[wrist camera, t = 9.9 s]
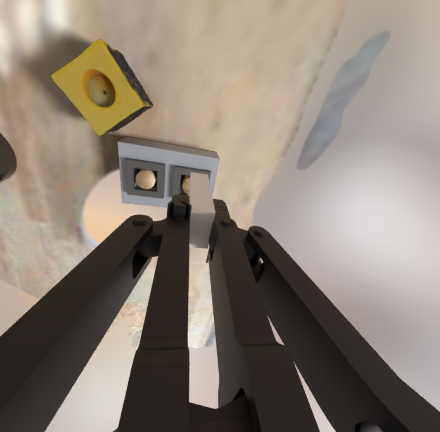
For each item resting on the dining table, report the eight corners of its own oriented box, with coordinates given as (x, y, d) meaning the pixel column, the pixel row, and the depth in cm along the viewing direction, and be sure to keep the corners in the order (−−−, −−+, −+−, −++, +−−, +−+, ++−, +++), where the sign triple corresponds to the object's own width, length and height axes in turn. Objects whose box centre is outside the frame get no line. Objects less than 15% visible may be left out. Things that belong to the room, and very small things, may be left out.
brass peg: (182, 181, 50) (181, 193, 44) (184, 167, 48) (183, 177, 42) (197, 183, 51) (198, 195, 45) (199, 169, 49) (200, 179, 43)
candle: (117, 130, 42) (99, 138, 34) (79, 81, 37) (46, 76, 29) (155, 106, 41) (145, 108, 32) (121, 51, 35) (98, 36, 27)
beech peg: (143, 176, 48) (135, 187, 42) (142, 160, 46) (135, 170, 40) (159, 178, 49) (154, 190, 43) (159, 163, 47) (154, 173, 41)
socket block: (129, 192, 50) (120, 205, 44) (126, 136, 43) (115, 142, 37) (207, 201, 54) (209, 214, 48) (216, 152, 47) (220, 160, 41)
